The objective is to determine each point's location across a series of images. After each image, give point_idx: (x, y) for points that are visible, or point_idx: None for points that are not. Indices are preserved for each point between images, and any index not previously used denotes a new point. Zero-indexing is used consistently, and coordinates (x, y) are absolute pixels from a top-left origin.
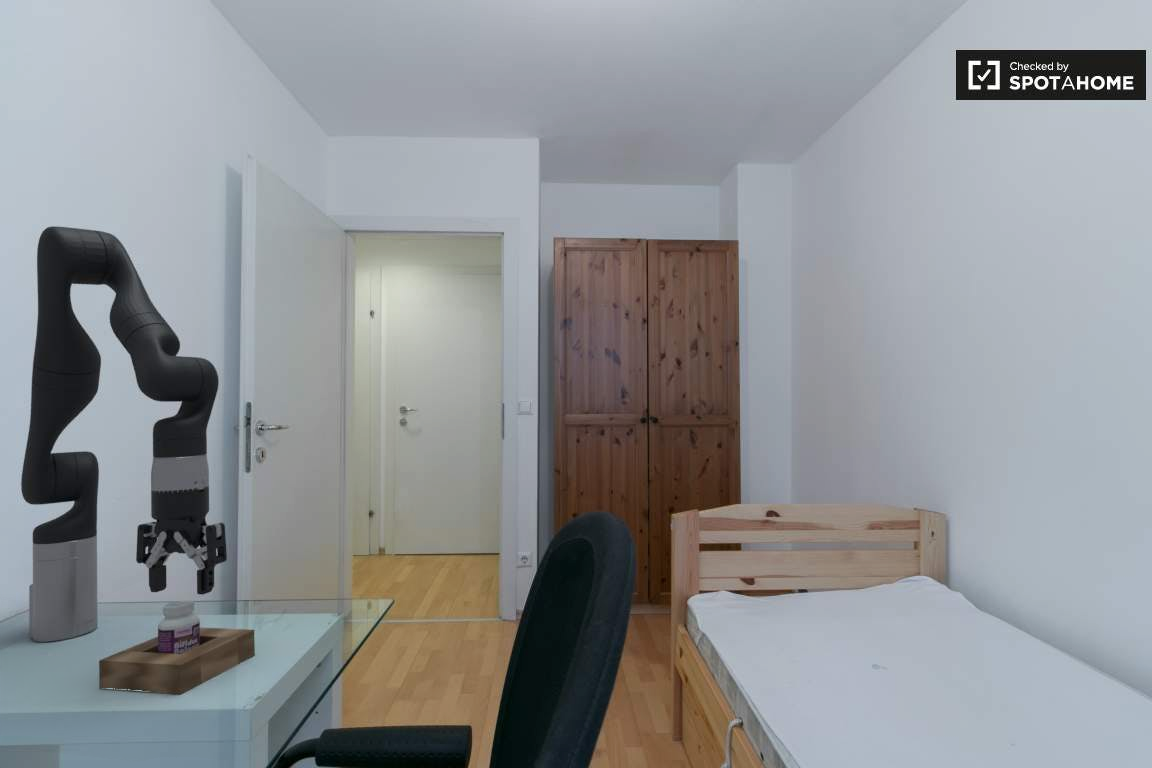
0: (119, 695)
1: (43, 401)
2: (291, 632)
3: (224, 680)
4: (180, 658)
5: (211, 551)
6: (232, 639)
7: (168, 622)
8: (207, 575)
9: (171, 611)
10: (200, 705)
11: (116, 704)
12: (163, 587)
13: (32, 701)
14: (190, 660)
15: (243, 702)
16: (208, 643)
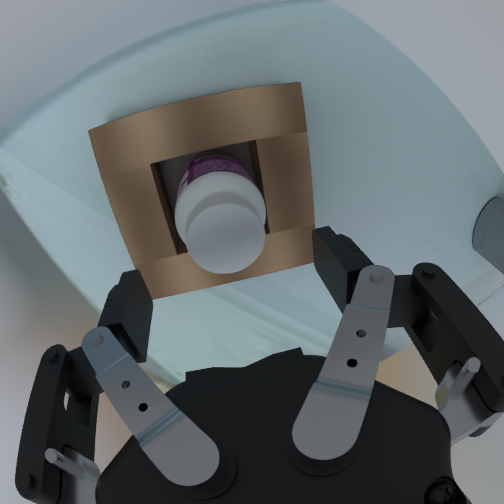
0: (214, 77)
1: None
2: (196, 342)
3: (94, 191)
4: (123, 150)
5: (39, 391)
6: (133, 256)
7: (207, 187)
8: (101, 322)
9: (204, 204)
10: (42, 123)
11: (178, 55)
12: (315, 261)
13: (342, 31)
14: (95, 154)
15: (5, 162)
16: (155, 224)
